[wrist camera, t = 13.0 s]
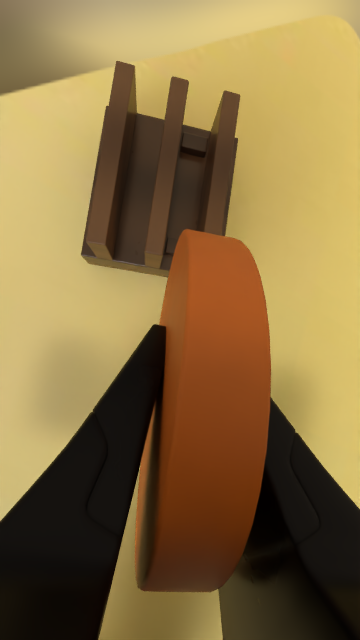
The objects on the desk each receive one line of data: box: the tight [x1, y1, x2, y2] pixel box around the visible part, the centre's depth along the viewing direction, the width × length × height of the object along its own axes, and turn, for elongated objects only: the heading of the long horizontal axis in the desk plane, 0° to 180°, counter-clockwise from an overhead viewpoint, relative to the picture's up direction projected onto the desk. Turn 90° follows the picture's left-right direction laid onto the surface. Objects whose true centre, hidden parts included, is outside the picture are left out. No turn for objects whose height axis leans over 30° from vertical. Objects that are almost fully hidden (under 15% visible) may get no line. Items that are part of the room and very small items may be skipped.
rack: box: [81, 61, 240, 277], centre depth 16 cm, size 10×9×5 cm
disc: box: [135, 229, 271, 592], centre depth 8 cm, size 9×1×9 cm, turn 172°
